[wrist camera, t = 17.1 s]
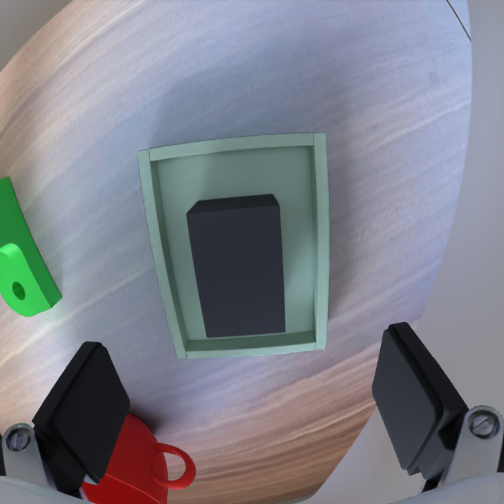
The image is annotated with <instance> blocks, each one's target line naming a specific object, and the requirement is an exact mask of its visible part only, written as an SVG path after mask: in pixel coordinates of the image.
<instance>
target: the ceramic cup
mask: <svg viewBox="0 0 504 504" xmlns="http://www.w3.org/2000/svg"><path fill="white" fill-rule="evenodd" d="M163 452H167V453H171V454H175V455H177V456H179V457H181V458H182V459H183V460H184V462H185V465H186V469H185V472H184V474H183V476H182V477H180V478H179V479H177V480H174V481H168V471H167V465H166V461H165V457H164V453H163ZM195 475H196V467H195V464H194V462H193V460H192V459H191V458H190V456H189V455H188V454H187V453H185V452H184V451H183V450H181V449H179V448H177V447H174V446H171V445H167V444H163V443H158V441H157V440H156V438H155V437H154V435H153V434H152V433H151V430H150V428H149V427H148V426H147V425H146V424H145V423H144V422H143V421H141V420H140V419H139V418H137V417H135V416H133V415H131V414H129V413H127V416H126V418H125V421H124V423H123V426H122V429H121V431H120V434H119V437H118V439H117V442H116V445H115V448H114V450H113V453H112V456H111V459H110V462H109V464H108V467H107V470H106V473H105V476H104V477H103V478H102V479H100V481H99V484H98V485H95V484H91V483H88V482H85V481H83V484H82V487H83V489H84V491H85V494H86V496H87V498H88V500H89V501H90V502H92V503H95V504H167V494H168V488H169V489H175V490H178V489H183V488H185V487H187V486H189V485H190V484H191V483H192V482H193V480H194V478H195Z"/></svg>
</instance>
